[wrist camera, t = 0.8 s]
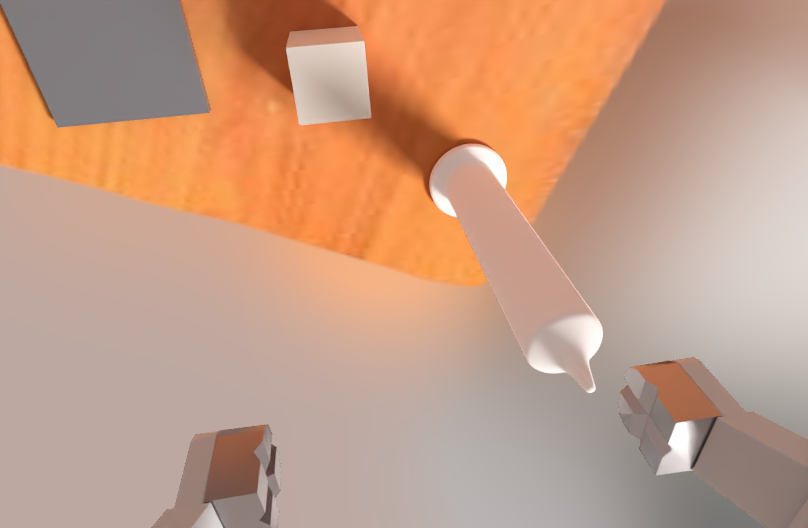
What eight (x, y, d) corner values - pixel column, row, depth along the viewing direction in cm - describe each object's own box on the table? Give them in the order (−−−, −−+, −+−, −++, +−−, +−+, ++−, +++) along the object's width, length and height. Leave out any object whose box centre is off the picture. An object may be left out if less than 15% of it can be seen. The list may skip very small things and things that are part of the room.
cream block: (290, 31, 36) (285, 47, 31) (357, 25, 37) (364, 41, 32) (301, 100, 39) (299, 125, 34) (364, 94, 40) (371, 118, 35)
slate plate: (-17, -48, 31) (-24, -47, 31) (164, -60, 32) (161, -60, 32) (62, 123, 37) (57, 127, 37) (210, 109, 38) (209, 112, 38)
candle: (422, 211, 46) (506, 437, 26) (437, 138, 42) (549, 336, 22) (493, 217, 48) (626, 435, 27) (514, 147, 44) (685, 339, 24)
